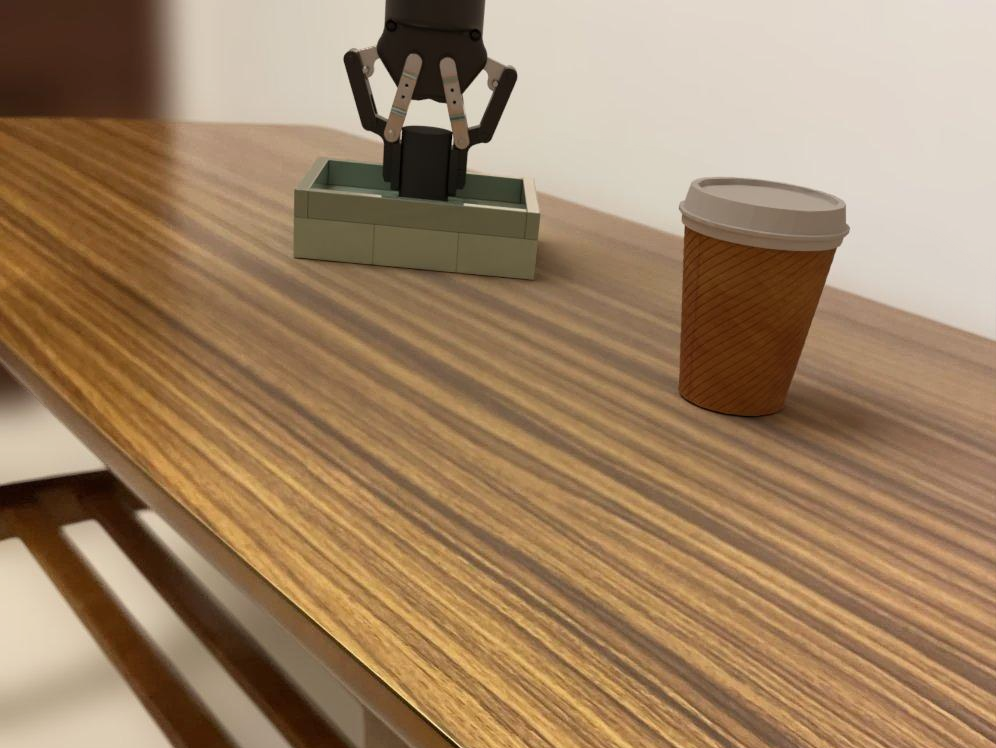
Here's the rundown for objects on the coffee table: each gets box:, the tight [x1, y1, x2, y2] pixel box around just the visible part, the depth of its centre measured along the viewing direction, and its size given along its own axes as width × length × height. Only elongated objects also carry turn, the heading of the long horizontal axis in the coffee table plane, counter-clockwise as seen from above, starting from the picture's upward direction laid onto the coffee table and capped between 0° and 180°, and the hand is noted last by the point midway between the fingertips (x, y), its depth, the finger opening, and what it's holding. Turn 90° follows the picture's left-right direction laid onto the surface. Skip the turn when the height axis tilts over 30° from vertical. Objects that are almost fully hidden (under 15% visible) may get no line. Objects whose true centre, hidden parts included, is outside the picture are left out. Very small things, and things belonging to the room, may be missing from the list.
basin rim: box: [293, 156, 541, 240], centre depth 97 cm, size 18×14×2 cm
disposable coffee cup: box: [678, 176, 851, 417], centre depth 71 cm, size 10×10×12 cm
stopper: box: [398, 125, 453, 202], centre depth 99 cm, size 4×4×6 cm
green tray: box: [292, 184, 539, 281], centre depth 98 cm, size 18×15×3 cm
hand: (424, 190), depth 100 cm, fingers closed on stopper, 4 cm apart
